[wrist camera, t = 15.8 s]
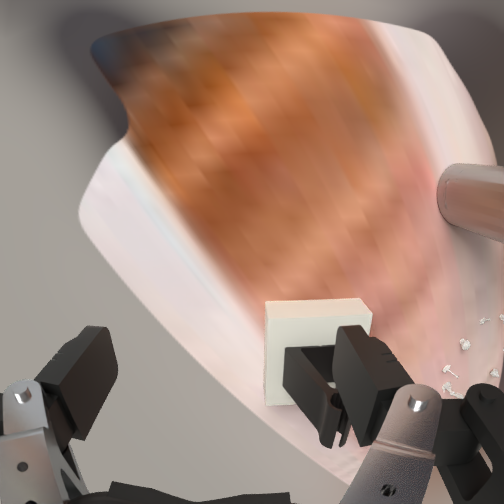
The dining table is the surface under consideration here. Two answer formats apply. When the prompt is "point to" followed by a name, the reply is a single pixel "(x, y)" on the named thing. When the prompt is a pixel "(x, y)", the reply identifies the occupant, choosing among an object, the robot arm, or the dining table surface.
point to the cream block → (303, 334)
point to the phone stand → (316, 390)
